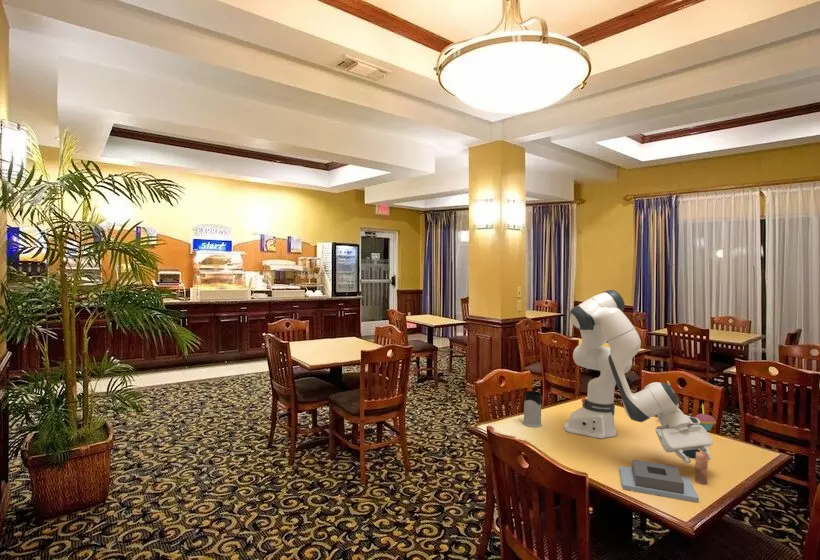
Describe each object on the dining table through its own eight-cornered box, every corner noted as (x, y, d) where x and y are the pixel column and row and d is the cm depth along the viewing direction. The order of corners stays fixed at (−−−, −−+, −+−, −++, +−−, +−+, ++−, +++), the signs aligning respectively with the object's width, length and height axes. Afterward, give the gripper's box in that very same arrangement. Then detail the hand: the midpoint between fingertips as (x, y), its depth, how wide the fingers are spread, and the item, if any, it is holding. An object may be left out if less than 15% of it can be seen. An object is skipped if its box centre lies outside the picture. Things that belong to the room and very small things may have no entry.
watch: (690, 451, 186) (691, 425, 185) (702, 460, 178) (703, 432, 177) (676, 451, 186) (677, 424, 186) (688, 459, 178) (689, 431, 178)
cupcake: (689, 426, 216) (690, 401, 216) (706, 426, 217) (707, 401, 217) (702, 433, 208) (703, 407, 207) (720, 432, 208) (721, 406, 208)
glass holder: (520, 425, 214) (521, 393, 213) (529, 417, 226) (530, 387, 225) (538, 429, 209) (539, 396, 209) (547, 420, 221) (547, 390, 221)
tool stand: (622, 489, 153) (622, 474, 152) (619, 469, 167) (619, 456, 167) (698, 502, 144) (699, 487, 144) (688, 481, 159) (688, 467, 159)
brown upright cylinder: (696, 483, 158) (697, 454, 158) (693, 478, 161) (694, 451, 161) (708, 485, 157) (709, 456, 156) (705, 480, 160) (706, 452, 160)
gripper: (658, 422, 163) (681, 460, 154) (701, 418, 169) (726, 454, 160) (648, 430, 167) (669, 468, 158) (690, 426, 174) (713, 462, 164)
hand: (698, 461), depth 159 cm, fingers open, 8 cm apart
